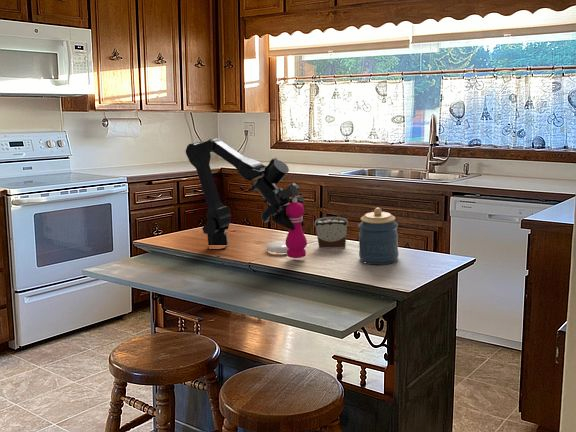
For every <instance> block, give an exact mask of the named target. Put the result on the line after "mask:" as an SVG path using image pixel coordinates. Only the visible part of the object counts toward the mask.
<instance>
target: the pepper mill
mask: <svg viewBox="0 0 576 432" xmlns="http://www.w3.org/2000/svg"><path fill="white" fill-rule="evenodd" d="M292 198H293V197H292ZM292 198H291V199H292ZM304 212H305V208H304V205H303V203H302V204H301V203H299V202H297V198H293V199H292V203H289V204H288V205H287V207H286V215H287V214H288V218H289V219H290V221H291V222H292V224H293V225H294V227H295V230H291V229H289V228H288V229H289V230H288V233H287V236H286V237H285V241H286V243H285V244H286V247H287V248H288V250H287V255H286V256H287V257H288V258H291V259H301V258H304V257H306V256H307V251H306V249H305V248H306V247H307V245H308V242H307V237H306V235H305V233H304V231H303V228H302V227H303V226H301V223H302V221H303V222H304V220H303V214H304Z"/></svg>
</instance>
